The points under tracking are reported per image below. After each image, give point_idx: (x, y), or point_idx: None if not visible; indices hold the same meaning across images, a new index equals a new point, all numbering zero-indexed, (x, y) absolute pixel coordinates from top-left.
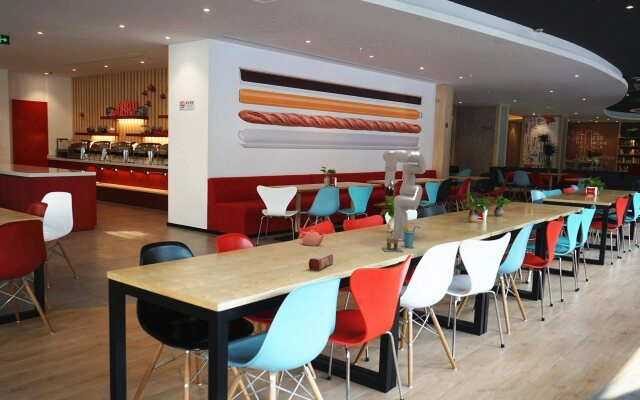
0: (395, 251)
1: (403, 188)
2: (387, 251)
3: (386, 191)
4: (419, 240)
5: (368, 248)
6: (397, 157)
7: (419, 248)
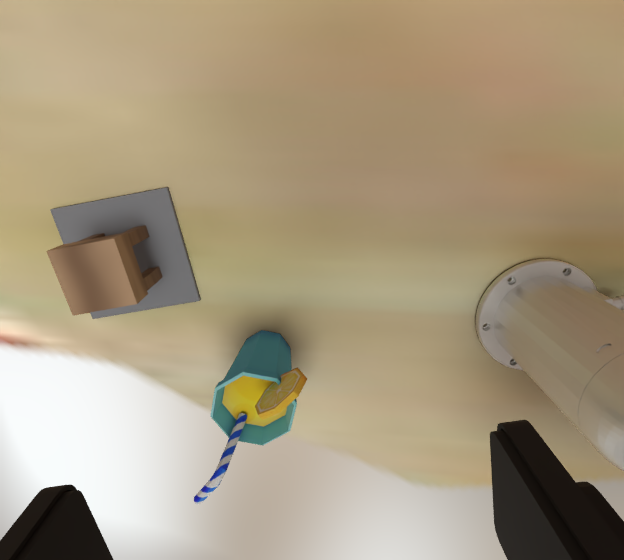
0: None
1: None
2: (58, 227)
3: (541, 530)
4: None
5: (110, 97)
6: None
7: None
